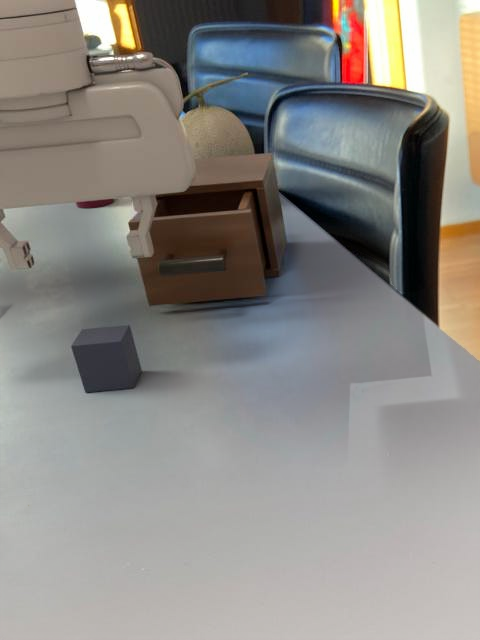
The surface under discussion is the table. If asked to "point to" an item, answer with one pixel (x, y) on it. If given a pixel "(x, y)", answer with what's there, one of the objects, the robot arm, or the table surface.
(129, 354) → the block
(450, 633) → the table surface
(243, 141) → the fruit
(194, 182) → the cabinet
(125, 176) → the robot arm
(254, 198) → the drawer
